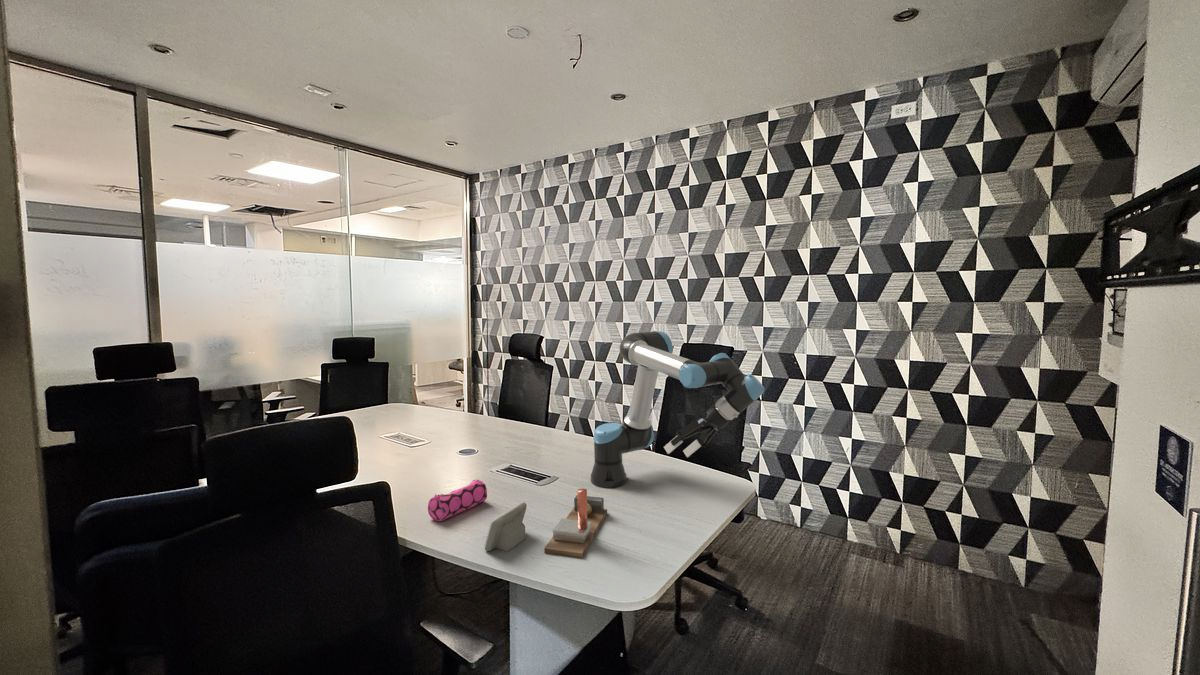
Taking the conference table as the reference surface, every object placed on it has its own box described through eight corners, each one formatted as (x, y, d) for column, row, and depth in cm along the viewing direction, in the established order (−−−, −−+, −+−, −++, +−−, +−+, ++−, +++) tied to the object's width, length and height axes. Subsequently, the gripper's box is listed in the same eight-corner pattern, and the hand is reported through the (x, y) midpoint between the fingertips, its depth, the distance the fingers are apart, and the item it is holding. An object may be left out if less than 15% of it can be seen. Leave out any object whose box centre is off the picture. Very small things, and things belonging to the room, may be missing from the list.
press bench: (582, 558, 141) (581, 538, 141) (544, 552, 145) (543, 534, 144) (607, 513, 170) (607, 496, 170) (575, 509, 173) (575, 493, 173)
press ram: (583, 543, 146) (582, 496, 145) (553, 539, 149) (552, 493, 148) (591, 530, 154) (590, 486, 153) (562, 527, 157) (560, 483, 155)
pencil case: (444, 527, 162) (443, 498, 161) (426, 520, 168) (425, 492, 167) (491, 503, 180) (490, 477, 179) (473, 497, 185) (472, 472, 185)
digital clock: (518, 528, 160) (517, 497, 159) (536, 536, 155) (535, 505, 154) (477, 548, 148) (476, 515, 147) (495, 558, 142) (494, 524, 141)
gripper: (713, 415, 145) (663, 458, 151) (743, 426, 163) (698, 464, 169) (699, 397, 149) (651, 439, 155) (730, 409, 168) (687, 447, 174)
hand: (676, 452), depth 162 cm, fingers open, 13 cm apart
